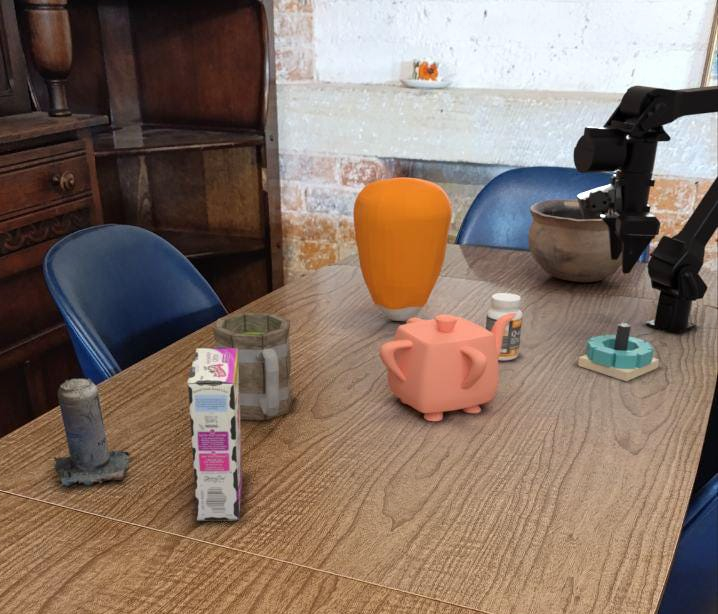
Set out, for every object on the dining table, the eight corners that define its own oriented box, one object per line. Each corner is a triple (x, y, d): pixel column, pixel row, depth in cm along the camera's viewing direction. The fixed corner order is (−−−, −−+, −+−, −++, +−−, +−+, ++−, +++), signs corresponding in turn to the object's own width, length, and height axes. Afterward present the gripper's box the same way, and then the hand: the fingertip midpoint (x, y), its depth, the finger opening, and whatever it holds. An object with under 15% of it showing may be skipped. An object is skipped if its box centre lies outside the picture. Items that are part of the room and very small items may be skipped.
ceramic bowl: (639, 293, 178) (651, 218, 171) (532, 292, 178) (540, 216, 171) (612, 266, 198) (623, 197, 191) (516, 264, 198) (523, 195, 191)
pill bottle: (517, 363, 142) (523, 303, 137) (482, 360, 143) (487, 300, 138) (518, 351, 147) (525, 293, 142) (484, 348, 148) (489, 290, 143)
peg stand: (609, 353, 146) (615, 312, 143) (657, 368, 141) (665, 326, 137) (577, 365, 141) (583, 323, 138) (626, 381, 135) (633, 338, 132)
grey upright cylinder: (61, 493, 101) (45, 397, 96) (53, 465, 107) (38, 373, 102) (140, 480, 105) (129, 386, 99) (128, 453, 111) (117, 363, 105)
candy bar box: (242, 521, 96) (234, 382, 89) (196, 523, 96) (184, 383, 88) (245, 474, 106) (238, 345, 98) (203, 475, 106) (193, 346, 98)
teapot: (375, 419, 121) (377, 328, 115) (400, 379, 135) (403, 295, 128) (495, 434, 117) (505, 341, 111) (509, 391, 131) (518, 306, 125)
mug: (210, 396, 128) (204, 316, 122) (281, 387, 131) (279, 309, 125) (235, 440, 115) (230, 353, 109) (314, 429, 118) (313, 344, 112)
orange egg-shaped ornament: (337, 328, 156) (337, 182, 144) (372, 302, 170) (374, 167, 158) (429, 341, 150) (437, 190, 139) (457, 314, 164) (467, 174, 153)
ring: (609, 343, 146) (611, 330, 145) (662, 359, 140) (664, 346, 139) (574, 356, 141) (576, 343, 139) (627, 373, 134) (630, 359, 133)
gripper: (575, 161, 151) (564, 251, 159) (595, 179, 135) (582, 279, 142) (640, 162, 151) (626, 253, 158) (668, 180, 134) (651, 281, 142)
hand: (619, 266), depth 150 cm, fingers open, 9 cm apart
